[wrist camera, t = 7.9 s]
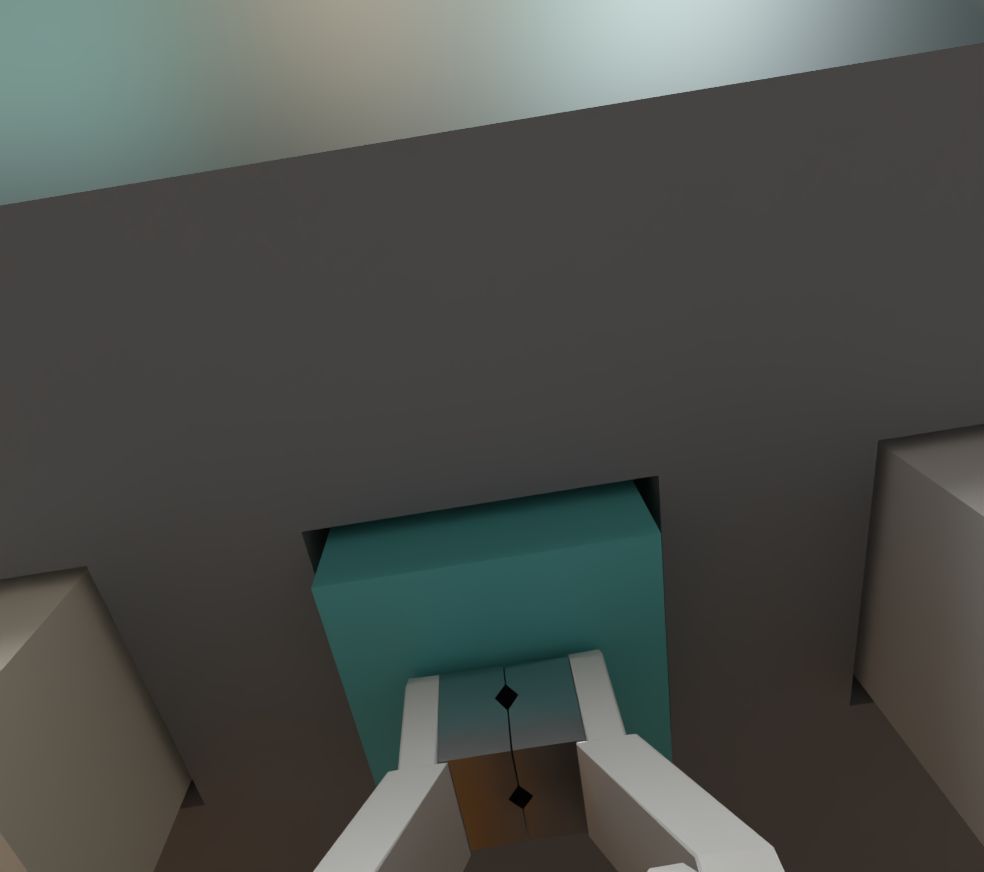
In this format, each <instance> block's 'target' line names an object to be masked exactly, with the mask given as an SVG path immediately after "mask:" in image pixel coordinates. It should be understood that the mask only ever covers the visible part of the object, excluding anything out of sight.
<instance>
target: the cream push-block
mask: <svg viewBox="0 0 984 872" xmlns="http://www.w3.org/2000/svg"><path fill="white" fill-rule="evenodd" d="M191 780H192V777H191V775H190V773H189V771H188V769H187V767H186V765H185V763H184V761H183V759H182V757H181V755H180V753H179V751H178V749H177V747H176V745H175V743H174V741H173V739H172V737H171V735H170V733H169V731H168V729H167V727H166V725H165V723H164V721H163V719H162V717H161V715H160V713H159V711H158V709H157V707H156V705H155V703H154V701H153V699H152V697H151V695H150V693H149V691H148V689H147V687H146V685H145V683H144V681H143V679H142V677H141V675H140V673H139V671H138V669H137V667H136V665H135V663H134V661H133V659H132V657H131V655H130V653H129V651H128V649H127V647H126V645H125V643H124V641H123V639H122V637H121V635H120V633H119V631H118V629H117V627H116V625H115V623H114V621H113V619H112V617H111V615H110V613H109V611H108V609H107V607H106V605H105V603H104V601H103V599H102V597H101V595H100V593H99V590H98V588H97V586H96V584H95V582H94V580H93V578H92V576H91V574H90V572H89V570H88V568H87V566H83V567H77V568H70V569H64V570H58V571H51V572H45V573H39V574H33V575H26V576H20V577H14V578H7V579H1V580H0V872H154V869H155V867H156V865H157V862H158V860H159V857H160V855H161V852H162V850H163V848H164V845H165V843H166V840H167V838H168V836H169V833H170V831H171V828H172V826H173V823H174V821H175V819H176V816H177V814H178V811H179V809H180V806H181V804H182V802H183V799H184V797H185V794H186V792H187V790H188V787H189V785H190V782H191Z"/></svg>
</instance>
